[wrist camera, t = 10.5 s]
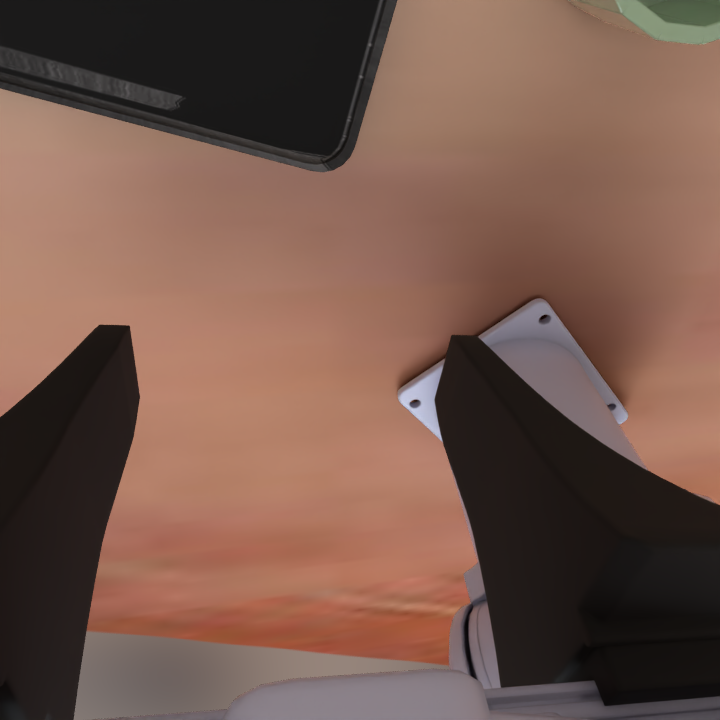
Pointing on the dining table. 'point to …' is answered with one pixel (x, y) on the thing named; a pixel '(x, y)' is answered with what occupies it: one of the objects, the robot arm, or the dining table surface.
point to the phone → (207, 68)
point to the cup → (660, 18)
